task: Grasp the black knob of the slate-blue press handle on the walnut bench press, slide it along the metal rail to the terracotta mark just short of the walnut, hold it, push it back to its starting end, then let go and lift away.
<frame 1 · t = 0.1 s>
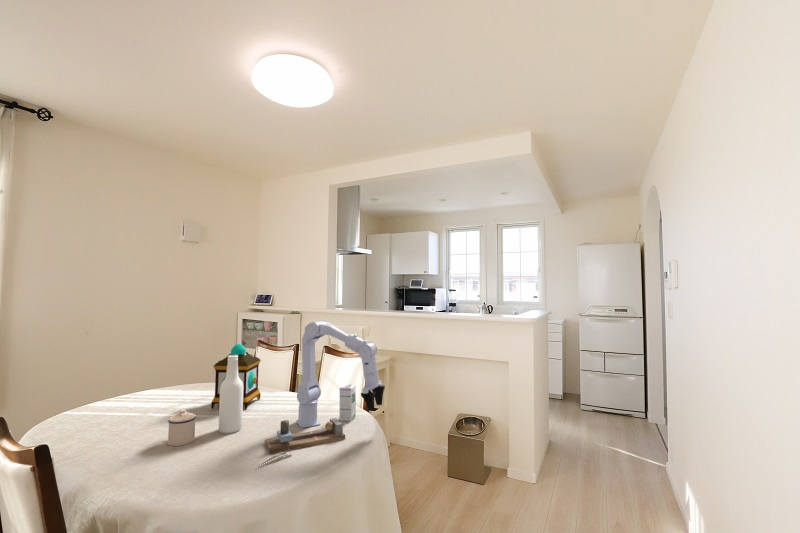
hand: (375, 407, 151), 11 cm above the table, tool pointing down, fingers open, 7 cm apart
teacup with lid: (179, 441, 142), on the table
press handle: (284, 429, 139), point 6 cm above the table, slide at 0.0 cm
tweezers: (267, 466, 125), on the table
alcohol: (230, 430, 154), on the table
syrup box: (347, 419, 168), on the table
decorative lantern: (236, 404, 188), on the table
press bench: (305, 441, 143), on the table
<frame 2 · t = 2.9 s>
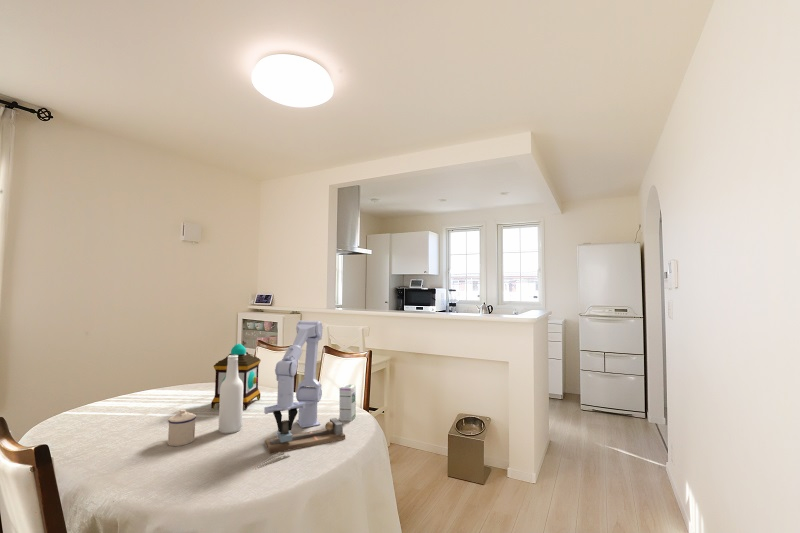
hand: (284, 430, 139), 5 cm above the table, tool pointing down, fingers closed on press handle, 3 cm apart
press handle: (284, 429, 139), point 6 cm above the table, slide at 0.0 cm, touching gripper
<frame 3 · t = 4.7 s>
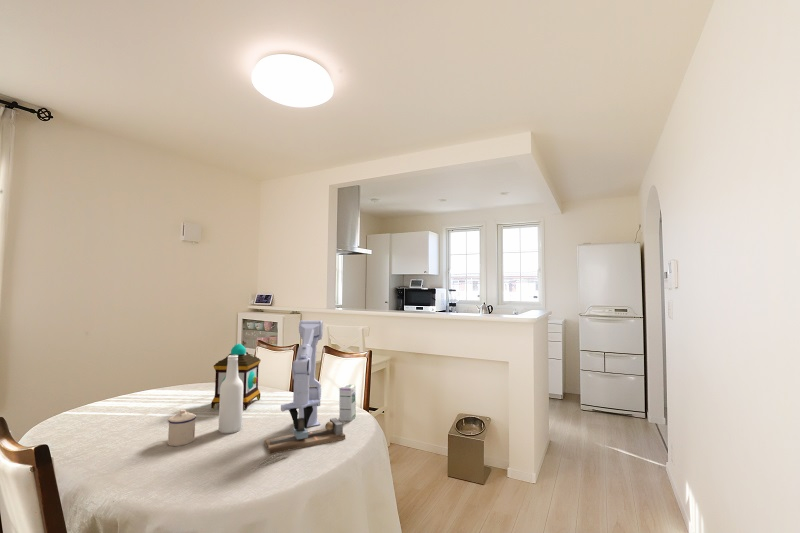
hand: (300, 427, 142), 5 cm above the table, tool pointing down, fingers closed on press handle, 3 cm apart
press handle: (300, 427, 142), point 6 cm above the table, slide at 5.9 cm, touching gripper
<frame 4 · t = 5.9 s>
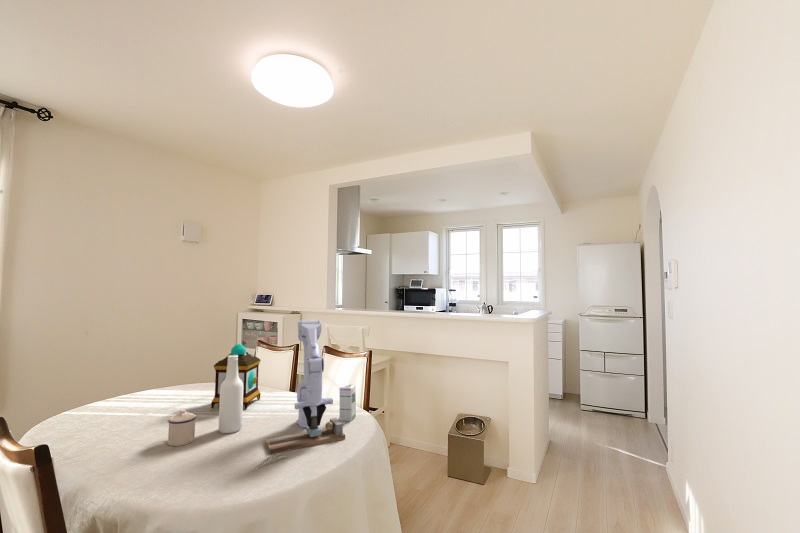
hand: (313, 425, 145), 5 cm above the table, tool pointing down, fingers closed on press handle, 3 cm apart
press handle: (313, 424, 145), point 6 cm above the table, slide at 10.9 cm, touching gripper
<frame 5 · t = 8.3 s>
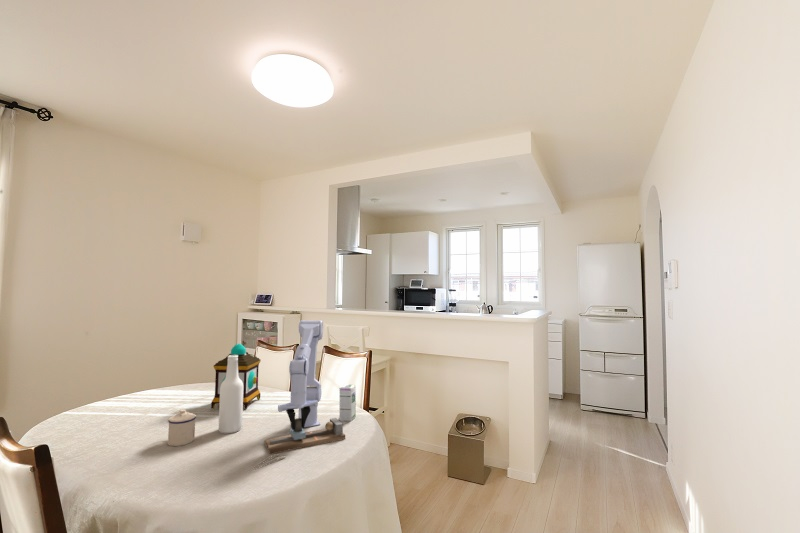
hand: (297, 428, 142), 5 cm above the table, tool pointing down, fingers closed on press handle, 3 cm apart
press handle: (297, 427, 142), point 6 cm above the table, slide at 4.8 cm, touching gripper
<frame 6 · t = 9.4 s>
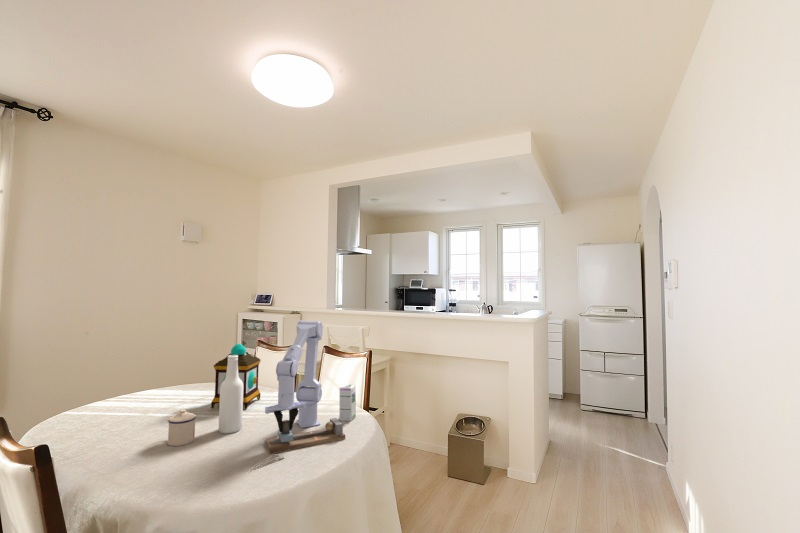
hand: (285, 430, 139), 5 cm above the table, tool pointing down, fingers closed on press handle, 3 cm apart
press handle: (285, 429, 139), point 6 cm above the table, slide at 0.3 cm, touching gripper
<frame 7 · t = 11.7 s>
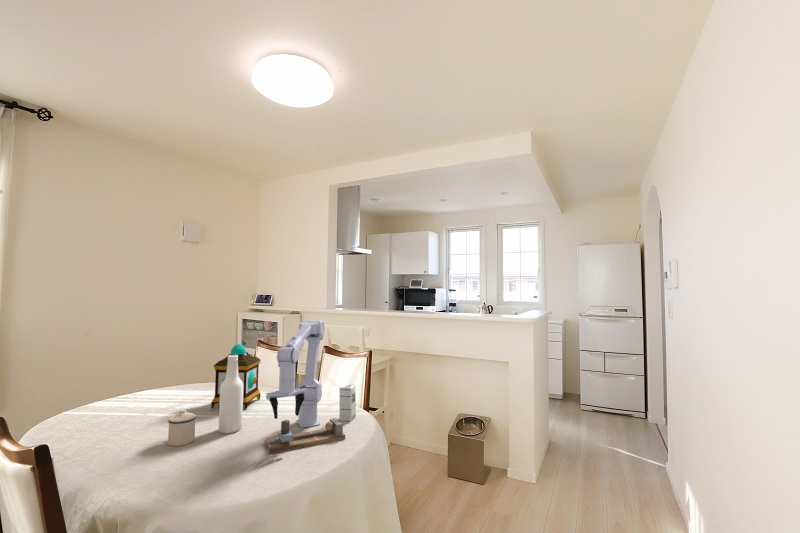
hand: (286, 416, 140), 10 cm above the table, tool pointing down, fingers open, 7 cm apart
press handle: (285, 429, 139), point 6 cm above the table, slide at 0.2 cm
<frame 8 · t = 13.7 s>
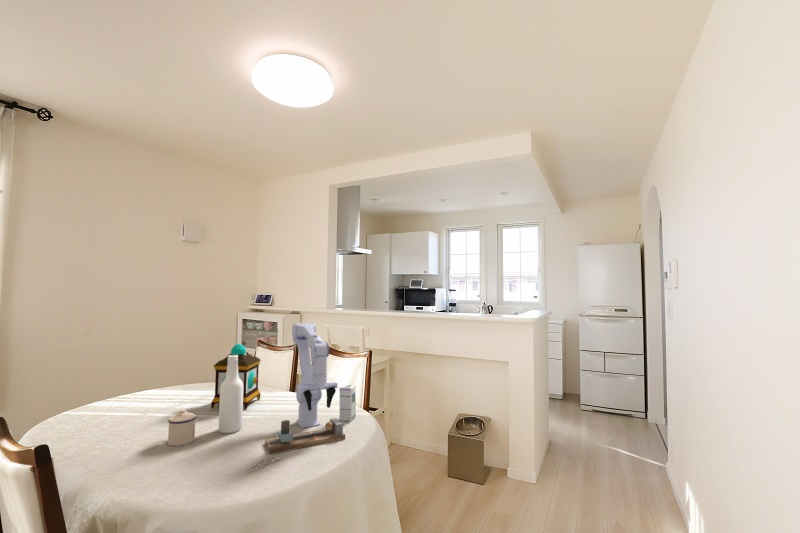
hand: (319, 408, 149), 10 cm above the table, tool pointing down, fingers open, 7 cm apart
at the end: press handle slide at 0.2 cm; the gripper is holding nothing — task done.
